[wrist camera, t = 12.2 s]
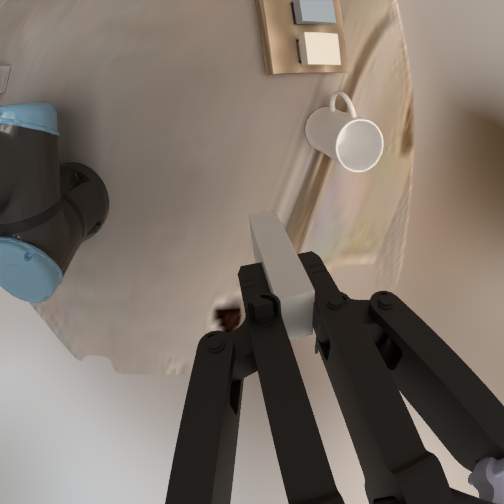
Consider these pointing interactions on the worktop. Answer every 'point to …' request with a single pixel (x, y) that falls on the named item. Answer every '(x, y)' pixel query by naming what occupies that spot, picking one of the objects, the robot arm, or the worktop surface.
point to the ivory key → (318, 48)
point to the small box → (4, 77)
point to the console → (293, 38)
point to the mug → (345, 136)
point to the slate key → (313, 12)
